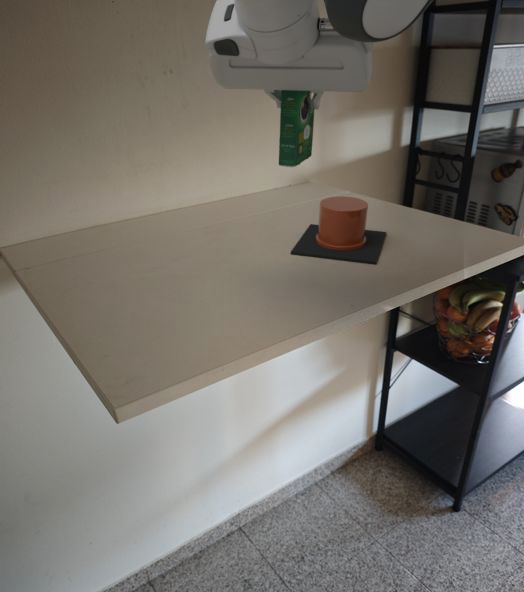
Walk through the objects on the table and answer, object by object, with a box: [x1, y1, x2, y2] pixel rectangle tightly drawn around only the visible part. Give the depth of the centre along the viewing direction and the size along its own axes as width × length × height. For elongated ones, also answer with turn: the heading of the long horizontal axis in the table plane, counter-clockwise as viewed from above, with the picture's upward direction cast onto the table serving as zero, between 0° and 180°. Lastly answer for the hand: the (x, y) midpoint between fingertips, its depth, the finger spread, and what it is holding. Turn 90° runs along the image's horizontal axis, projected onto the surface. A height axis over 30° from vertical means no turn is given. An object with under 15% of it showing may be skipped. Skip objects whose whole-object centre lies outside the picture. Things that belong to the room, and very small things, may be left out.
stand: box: [316, 196, 369, 251], centre depth 96 cm, size 10×10×8 cm
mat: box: [290, 223, 387, 265], centre depth 98 cm, size 16×16×1 cm
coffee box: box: [278, 90, 315, 168], centre depth 69 cm, size 8×3×13 cm, turn 160°
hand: (299, 104), depth 69 cm, fingers closed on coffee box, 3 cm apart
